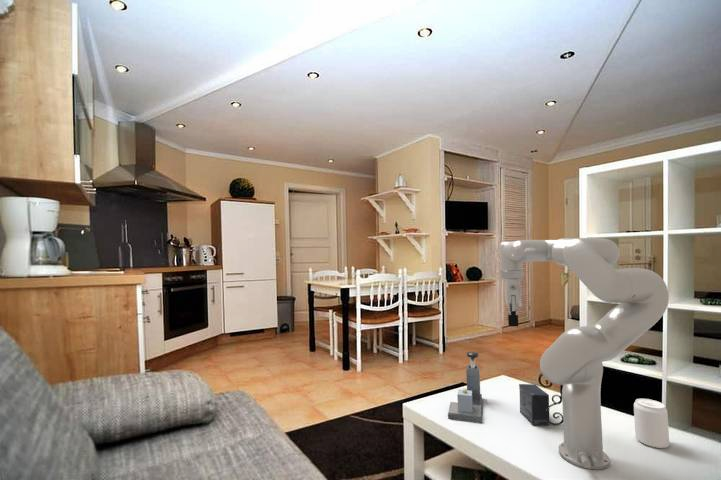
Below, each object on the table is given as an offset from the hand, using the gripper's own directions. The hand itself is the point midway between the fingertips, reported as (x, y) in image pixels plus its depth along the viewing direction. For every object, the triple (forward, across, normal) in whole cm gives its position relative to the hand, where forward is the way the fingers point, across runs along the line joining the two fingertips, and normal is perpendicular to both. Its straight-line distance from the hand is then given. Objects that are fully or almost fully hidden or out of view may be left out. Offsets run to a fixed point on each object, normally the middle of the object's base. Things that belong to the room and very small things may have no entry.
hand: (513, 325), depth 127 cm
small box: (+33, +2, -6) cm, 34 cm away
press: (+33, +4, +17) cm, 37 cm away
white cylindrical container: (+33, -5, -38) cm, 51 cm away
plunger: (+28, +13, +15) cm, 34 cm away
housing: (+31, -2, +18) cm, 36 cm away
